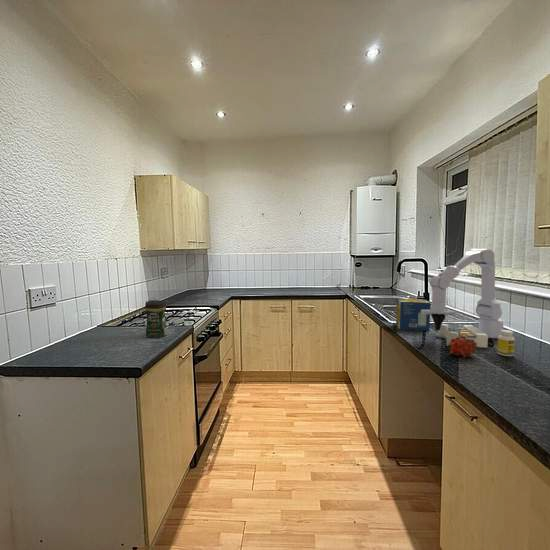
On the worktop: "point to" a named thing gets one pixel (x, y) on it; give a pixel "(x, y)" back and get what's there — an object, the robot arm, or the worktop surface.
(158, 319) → the coffee jar
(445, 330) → the white cylinder tube
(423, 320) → the protein box
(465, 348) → the dragon fruit
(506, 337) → the supplement bottle
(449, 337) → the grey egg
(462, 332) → the breaker paddle
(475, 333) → the breaker panel
